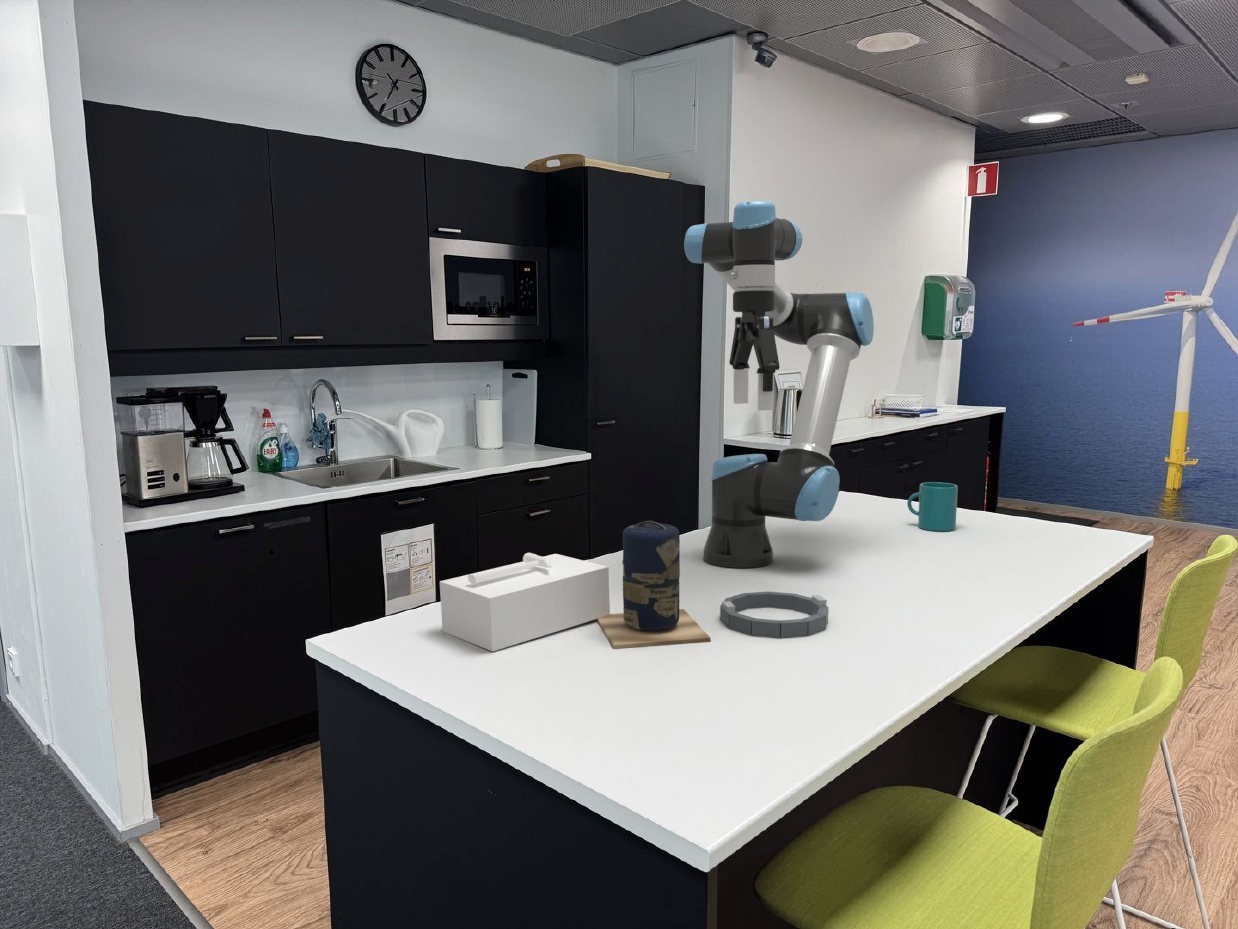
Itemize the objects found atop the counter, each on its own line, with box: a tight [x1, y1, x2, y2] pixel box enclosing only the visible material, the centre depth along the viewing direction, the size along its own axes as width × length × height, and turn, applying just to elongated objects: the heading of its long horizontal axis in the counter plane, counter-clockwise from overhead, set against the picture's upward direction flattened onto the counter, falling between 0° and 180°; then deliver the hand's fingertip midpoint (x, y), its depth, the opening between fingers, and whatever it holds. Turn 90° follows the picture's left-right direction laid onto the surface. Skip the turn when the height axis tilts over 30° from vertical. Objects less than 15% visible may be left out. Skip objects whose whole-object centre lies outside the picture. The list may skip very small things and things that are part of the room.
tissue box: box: [439, 552, 611, 652], centre depth 155 cm, size 14×25×11 cm, turn 133°
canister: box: [621, 520, 681, 631], centre depth 152 cm, size 10×10×18 cm
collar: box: [719, 591, 829, 639], centre depth 158 cm, size 18×18×4 cm
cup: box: [906, 481, 959, 533], centre depth 232 cm, size 9×12×11 cm
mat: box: [595, 608, 711, 649], centre depth 153 cm, size 16×16×1 cm
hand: (752, 406), depth 168 cm, fingers open, 13 cm apart
